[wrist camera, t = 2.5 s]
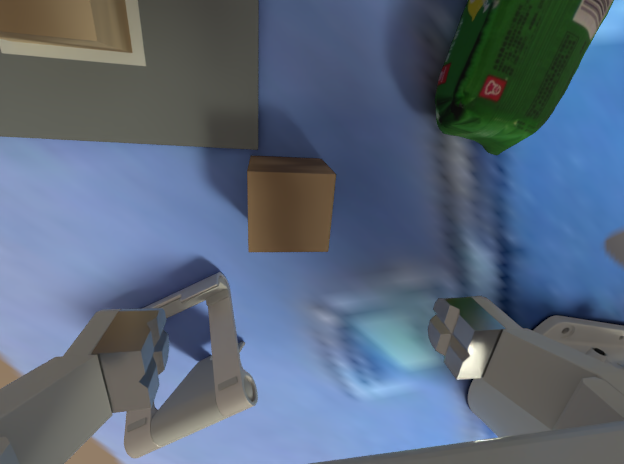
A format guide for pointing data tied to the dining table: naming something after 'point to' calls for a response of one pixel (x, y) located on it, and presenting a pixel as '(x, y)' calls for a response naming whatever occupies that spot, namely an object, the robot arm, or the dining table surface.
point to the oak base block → (67, 23)
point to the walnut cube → (289, 204)
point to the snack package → (512, 66)
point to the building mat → (143, 80)
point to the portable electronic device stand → (197, 376)
